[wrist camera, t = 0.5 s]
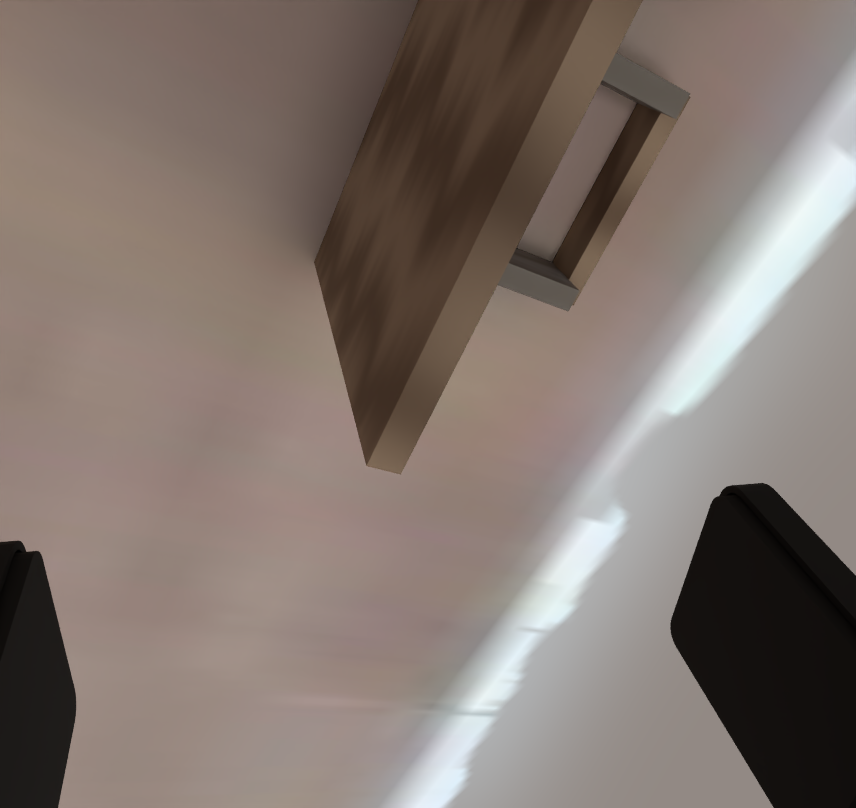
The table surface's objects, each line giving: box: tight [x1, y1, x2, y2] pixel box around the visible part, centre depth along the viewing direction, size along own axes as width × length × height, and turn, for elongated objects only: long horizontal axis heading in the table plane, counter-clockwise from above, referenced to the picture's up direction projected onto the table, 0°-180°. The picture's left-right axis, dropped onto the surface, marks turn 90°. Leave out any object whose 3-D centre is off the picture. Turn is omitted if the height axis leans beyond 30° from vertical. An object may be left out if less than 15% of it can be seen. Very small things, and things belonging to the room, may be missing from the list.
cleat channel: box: [314, 0, 690, 474], centre depth 31 cm, size 18×13×18 cm
